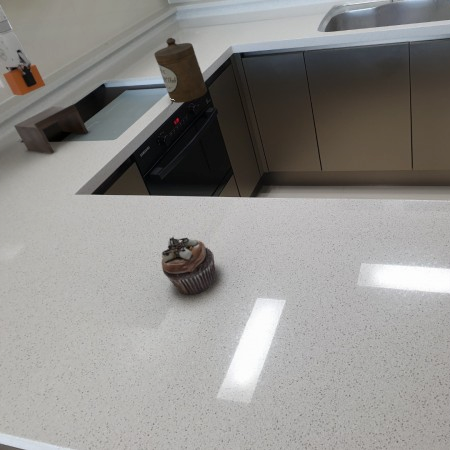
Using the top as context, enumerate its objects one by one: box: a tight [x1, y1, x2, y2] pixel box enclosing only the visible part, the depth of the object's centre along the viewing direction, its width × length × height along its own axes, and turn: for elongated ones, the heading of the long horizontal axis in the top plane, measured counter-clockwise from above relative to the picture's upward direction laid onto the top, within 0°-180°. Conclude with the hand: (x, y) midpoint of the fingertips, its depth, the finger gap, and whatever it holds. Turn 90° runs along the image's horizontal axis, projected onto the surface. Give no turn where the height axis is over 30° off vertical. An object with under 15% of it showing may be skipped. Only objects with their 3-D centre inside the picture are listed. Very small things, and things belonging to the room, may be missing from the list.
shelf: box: [13, 103, 89, 154], centre depth 164 cm, size 14×16×11 cm
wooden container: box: [153, 37, 208, 104], centre depth 176 cm, size 15×15×22 cm
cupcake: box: [161, 236, 217, 296], centre depth 86 cm, size 10×10×10 cm
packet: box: [2, 64, 46, 96], centre depth 154 cm, size 5×9×7 cm, turn 151°
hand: (27, 84), depth 155 cm, fingers closed on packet, 5 cm apart
